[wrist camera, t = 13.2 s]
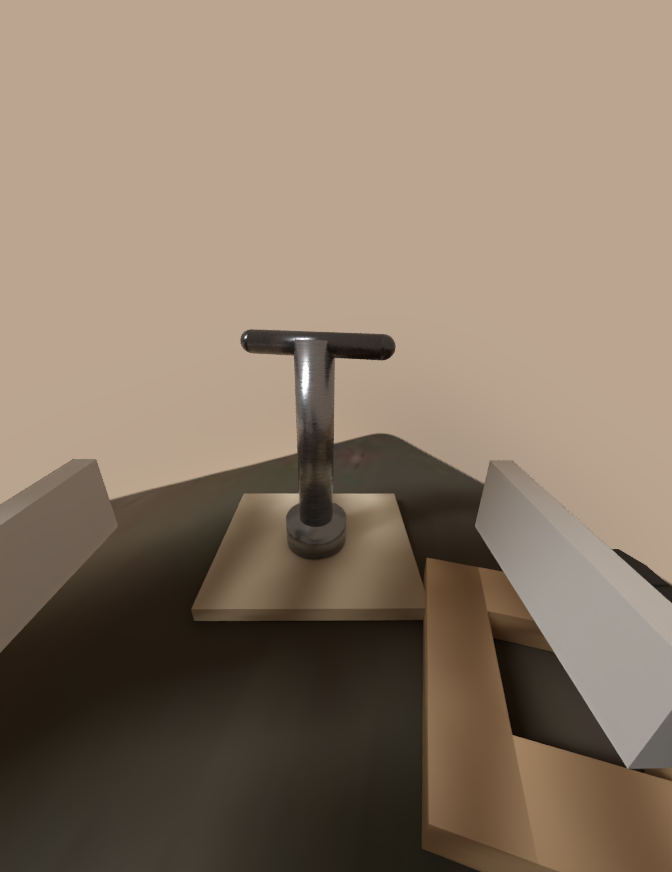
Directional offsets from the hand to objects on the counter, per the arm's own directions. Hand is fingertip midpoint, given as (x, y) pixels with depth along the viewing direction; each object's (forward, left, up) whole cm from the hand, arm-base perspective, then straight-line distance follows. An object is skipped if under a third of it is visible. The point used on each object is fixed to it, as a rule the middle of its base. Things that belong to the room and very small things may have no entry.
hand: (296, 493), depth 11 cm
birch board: (-3, +10, -12) cm, 15 cm away
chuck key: (-3, +9, -10) cm, 14 cm away
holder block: (+11, +3, -11) cm, 16 cm away
